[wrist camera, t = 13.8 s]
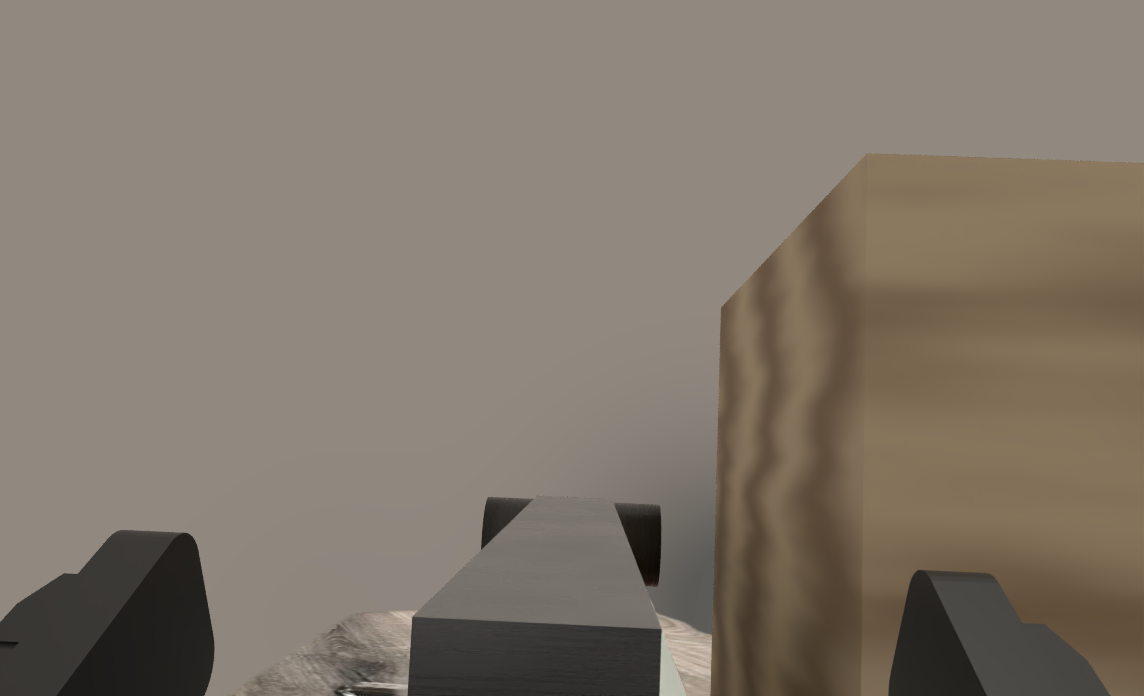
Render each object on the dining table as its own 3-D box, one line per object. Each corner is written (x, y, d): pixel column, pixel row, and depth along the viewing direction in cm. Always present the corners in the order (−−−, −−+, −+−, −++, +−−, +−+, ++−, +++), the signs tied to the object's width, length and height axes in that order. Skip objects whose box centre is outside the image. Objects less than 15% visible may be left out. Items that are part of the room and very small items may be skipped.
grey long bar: (801, 901, 10) (805, 635, 10) (251, 870, 10) (271, 609, 10) (652, 577, 34) (655, 500, 34) (490, 570, 34) (494, 493, 34)
